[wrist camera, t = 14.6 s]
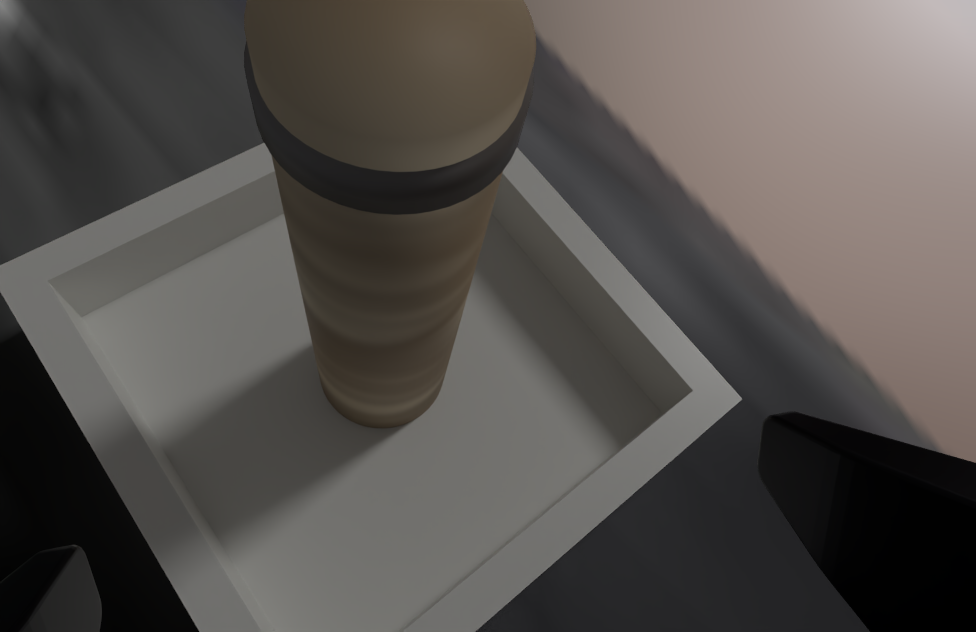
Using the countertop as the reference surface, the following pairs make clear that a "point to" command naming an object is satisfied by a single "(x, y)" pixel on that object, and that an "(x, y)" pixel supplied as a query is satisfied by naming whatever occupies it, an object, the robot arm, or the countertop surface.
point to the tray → (338, 441)
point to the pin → (387, 174)
